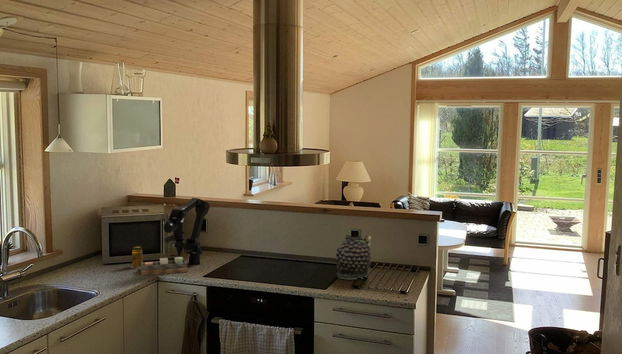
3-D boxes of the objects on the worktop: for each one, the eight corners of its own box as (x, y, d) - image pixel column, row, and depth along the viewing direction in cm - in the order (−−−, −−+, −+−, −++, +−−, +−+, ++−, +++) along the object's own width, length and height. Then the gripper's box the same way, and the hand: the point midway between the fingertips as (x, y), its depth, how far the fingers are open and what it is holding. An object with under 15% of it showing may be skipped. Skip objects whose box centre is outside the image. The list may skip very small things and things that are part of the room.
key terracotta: (152, 266, 343) (152, 261, 343) (153, 268, 339) (153, 263, 339) (145, 267, 342) (144, 262, 342) (145, 269, 338) (145, 264, 338)
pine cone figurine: (364, 272, 344) (365, 231, 341) (374, 279, 330) (375, 236, 327) (331, 275, 338) (331, 232, 335) (340, 282, 323) (341, 238, 321)
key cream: (167, 262, 346) (167, 257, 345) (168, 264, 342) (168, 259, 341) (159, 263, 344) (159, 258, 344) (160, 265, 340) (160, 260, 340)
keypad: (185, 266, 354) (185, 258, 354) (187, 272, 341) (187, 264, 340) (140, 269, 346) (140, 261, 346) (141, 275, 333) (141, 267, 332)
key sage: (182, 261, 348) (182, 256, 348) (182, 263, 344) (182, 258, 344) (174, 262, 347) (174, 257, 347) (175, 264, 343) (175, 259, 343)
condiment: (129, 267, 350) (128, 247, 348) (138, 264, 358) (137, 244, 356) (139, 268, 347) (139, 248, 346) (148, 265, 355) (147, 245, 354)
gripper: (163, 227, 350) (163, 253, 352) (165, 233, 332) (165, 260, 334) (182, 226, 353) (182, 251, 355) (185, 232, 336) (185, 259, 337)
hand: (178, 255), depth 345 cm, fingers closed
